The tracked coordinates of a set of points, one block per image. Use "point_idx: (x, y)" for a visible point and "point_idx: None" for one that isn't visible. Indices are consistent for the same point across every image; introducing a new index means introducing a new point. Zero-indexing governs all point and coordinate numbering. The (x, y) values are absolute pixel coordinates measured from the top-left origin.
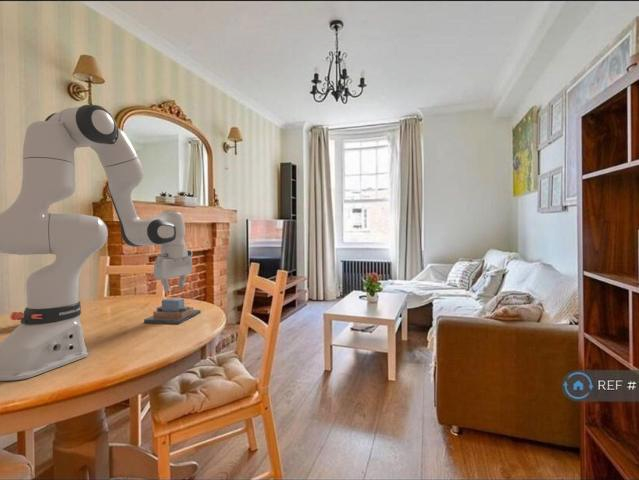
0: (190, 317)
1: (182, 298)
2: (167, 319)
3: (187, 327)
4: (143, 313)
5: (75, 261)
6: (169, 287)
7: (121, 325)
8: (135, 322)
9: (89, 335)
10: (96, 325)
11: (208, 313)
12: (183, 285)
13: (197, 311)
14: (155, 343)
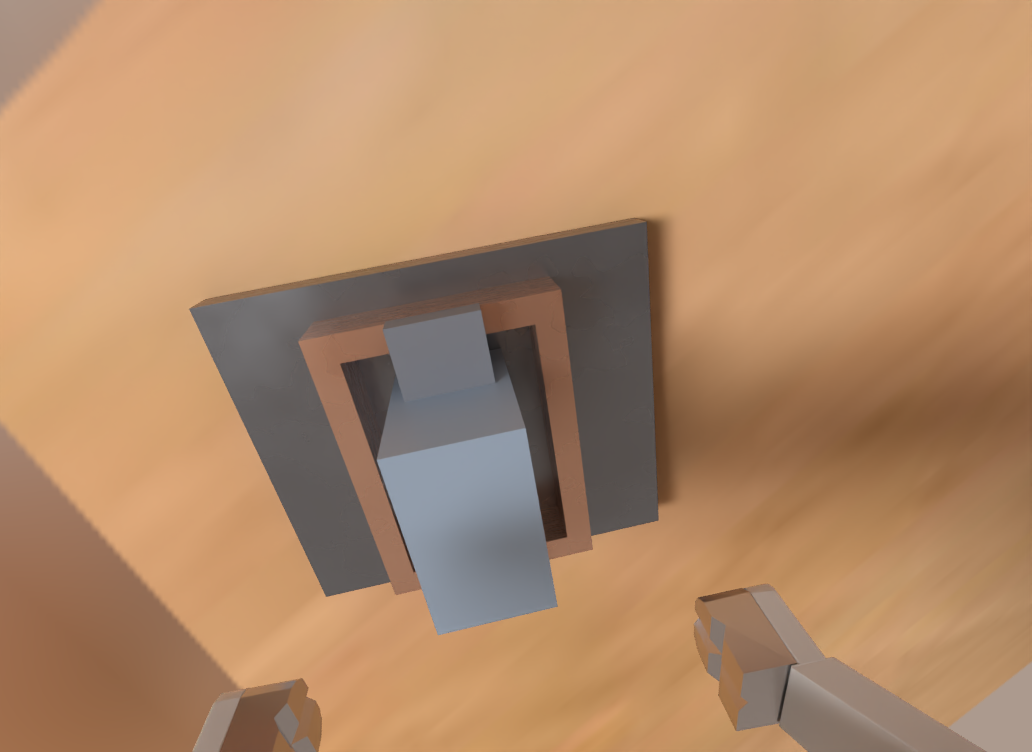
0: (429, 257)
1: (385, 480)
2: (626, 361)
3: (728, 39)
4: (442, 677)
5: None
6: (748, 632)
7: (722, 569)
8: (650, 554)
9: (907, 551)
10: None
11: (165, 196)
12: (241, 702)
13: (260, 300)
14: None
